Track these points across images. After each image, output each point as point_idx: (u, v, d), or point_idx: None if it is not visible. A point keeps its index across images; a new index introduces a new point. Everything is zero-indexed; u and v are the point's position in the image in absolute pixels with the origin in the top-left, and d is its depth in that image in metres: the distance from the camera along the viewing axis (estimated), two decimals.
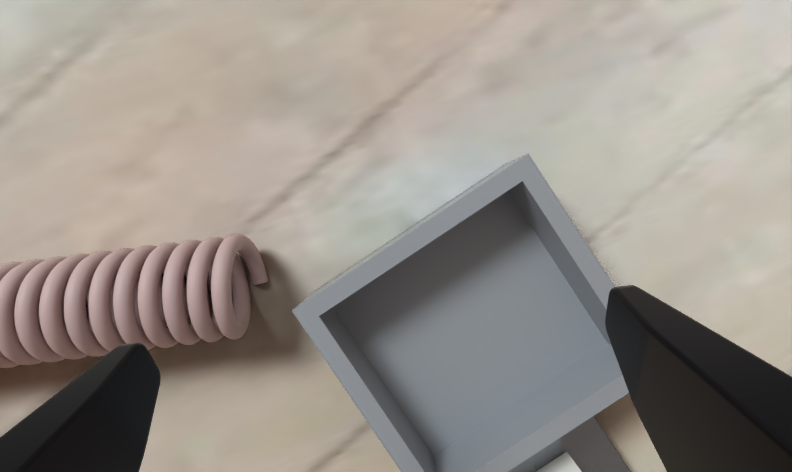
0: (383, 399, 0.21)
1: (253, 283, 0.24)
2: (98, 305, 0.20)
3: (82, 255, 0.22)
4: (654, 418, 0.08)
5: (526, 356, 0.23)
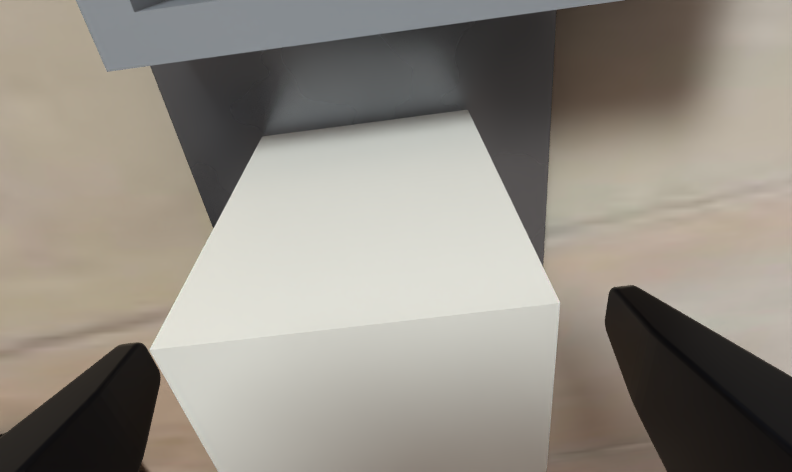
0: None
1: None
2: None
3: None
4: (654, 418, 0.08)
5: None
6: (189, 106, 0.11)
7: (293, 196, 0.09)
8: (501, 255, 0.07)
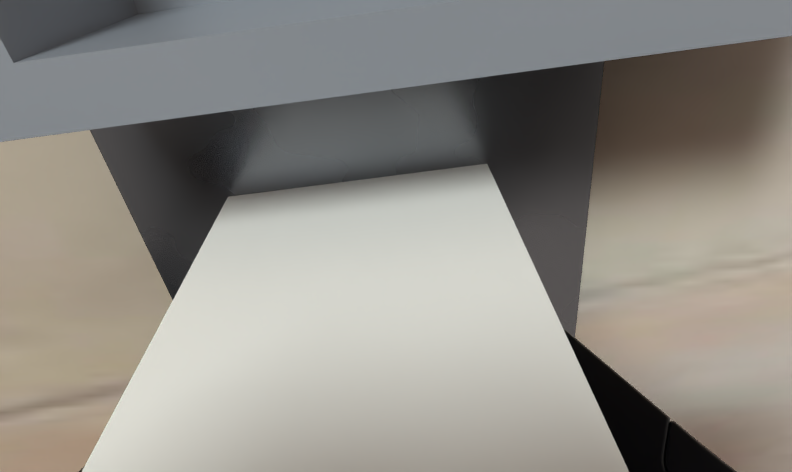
0: None
1: None
2: None
3: None
4: None
5: None
6: (135, 160, 0.09)
7: (256, 305, 0.07)
8: (565, 455, 0.04)
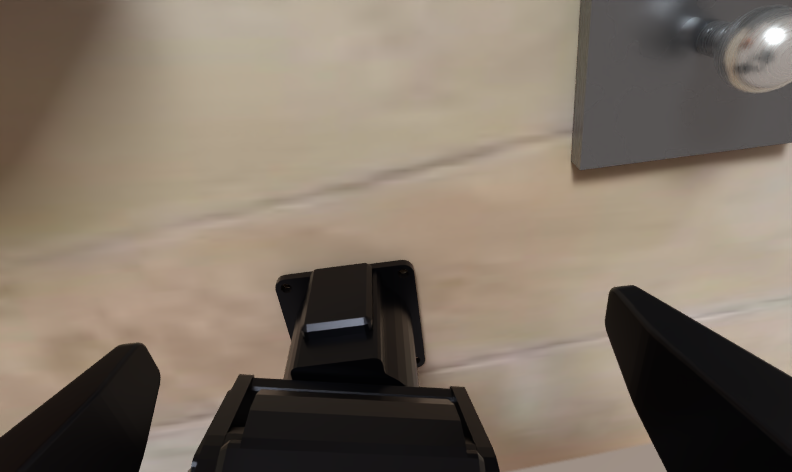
0: None
1: None
2: None
3: None
4: (654, 418, 0.08)
5: None
6: None
7: None
8: None
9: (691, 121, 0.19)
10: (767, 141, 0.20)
